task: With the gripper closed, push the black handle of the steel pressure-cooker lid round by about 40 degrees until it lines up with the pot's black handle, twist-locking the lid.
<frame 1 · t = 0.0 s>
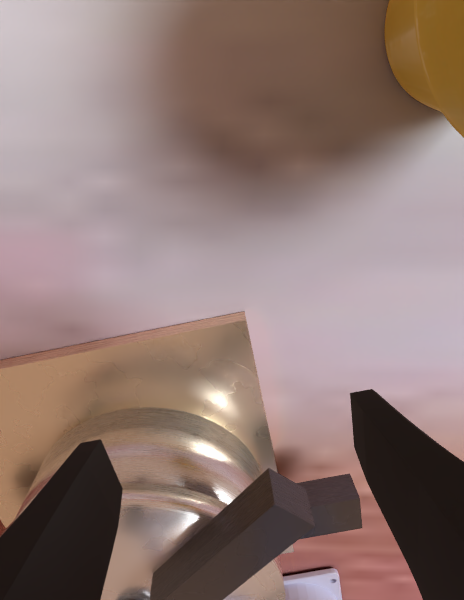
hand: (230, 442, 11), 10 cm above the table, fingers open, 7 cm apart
cooker lid: (156, 598, 18), point 8 cm above the table, hinge at 40.0°
plant pot: (458, 21, 16), on the table
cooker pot: (155, 481, 26), on the table
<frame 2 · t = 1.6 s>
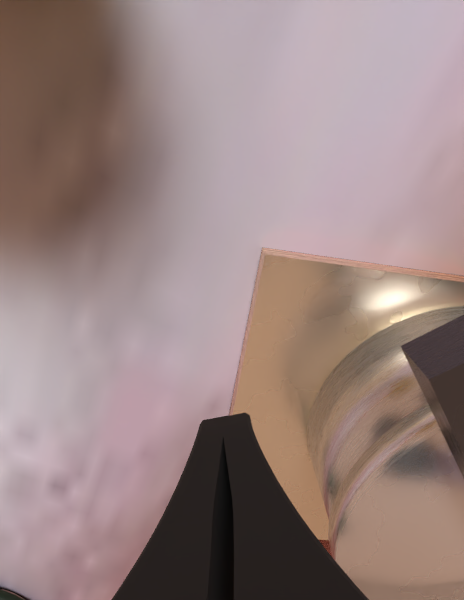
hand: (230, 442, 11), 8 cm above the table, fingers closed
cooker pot: (425, 410, 22), on the table
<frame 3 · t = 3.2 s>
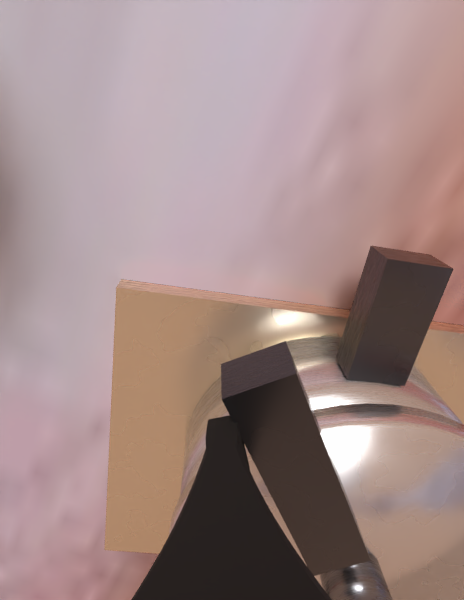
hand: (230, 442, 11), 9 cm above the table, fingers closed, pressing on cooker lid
cooker lid: (338, 547, 15), point 8 cm above the table, hinge at 30.9°, touching gripper
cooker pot: (308, 433, 22), on the table
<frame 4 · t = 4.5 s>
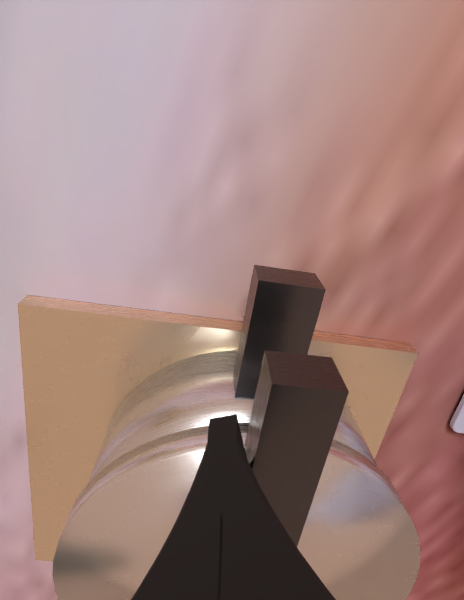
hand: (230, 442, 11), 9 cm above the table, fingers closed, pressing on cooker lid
cooker lid: (247, 560, 15), point 8 cm above the table, hinge at 0.6°, touching gripper
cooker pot: (232, 444, 23), on the table
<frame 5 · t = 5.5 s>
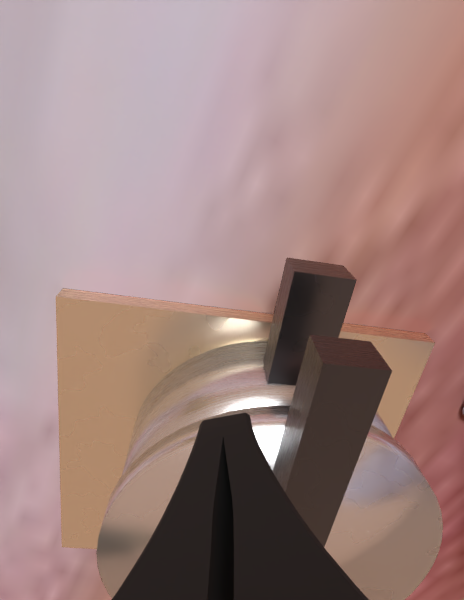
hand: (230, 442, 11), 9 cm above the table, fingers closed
cooker lid: (281, 536, 16), point 8 cm above the table, hinge at 0.4°
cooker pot: (254, 433, 23), on the table
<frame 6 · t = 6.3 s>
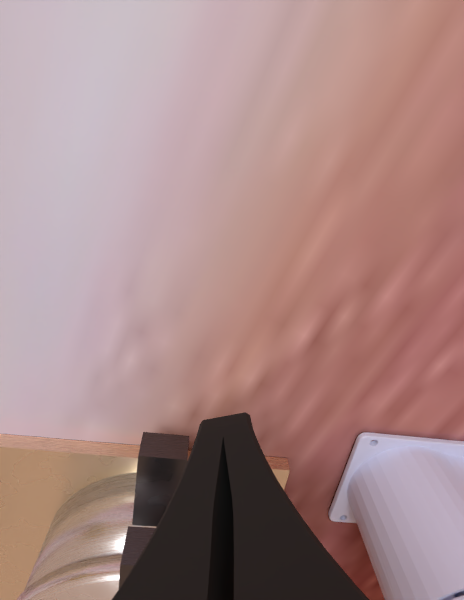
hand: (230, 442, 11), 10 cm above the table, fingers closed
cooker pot: (155, 531, 28), on the table
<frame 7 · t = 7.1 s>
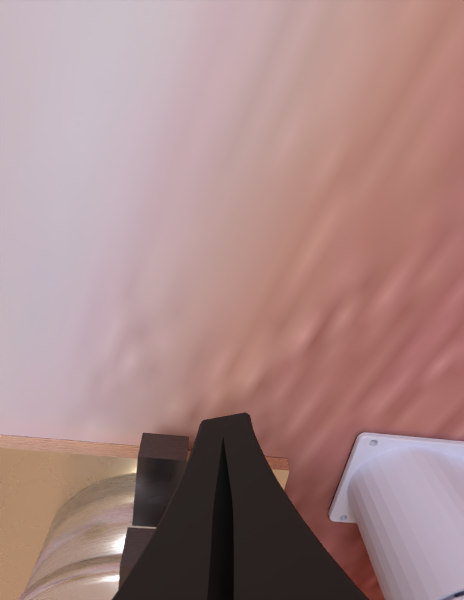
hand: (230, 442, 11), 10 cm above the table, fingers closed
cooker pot: (155, 531, 28), on the table
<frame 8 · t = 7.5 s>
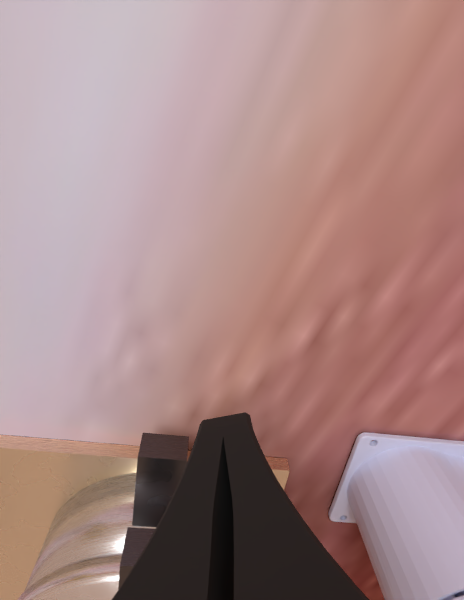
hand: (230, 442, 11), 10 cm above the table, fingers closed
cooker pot: (155, 531, 28), on the table
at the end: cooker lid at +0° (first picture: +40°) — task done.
